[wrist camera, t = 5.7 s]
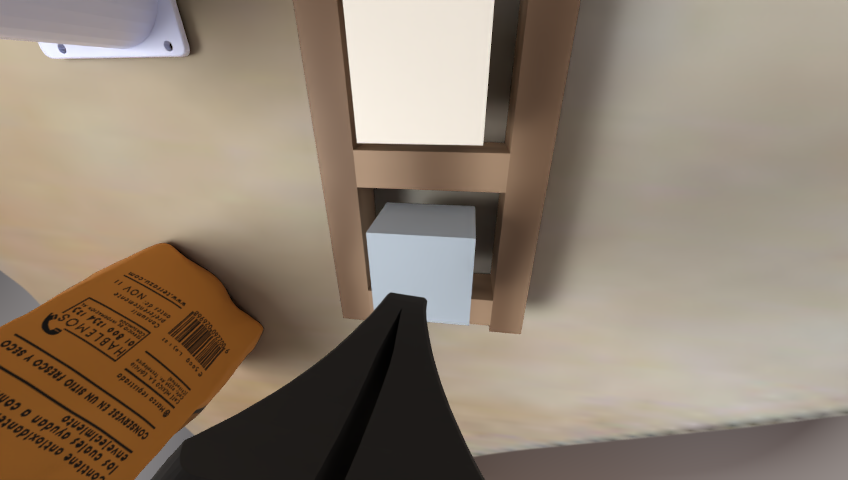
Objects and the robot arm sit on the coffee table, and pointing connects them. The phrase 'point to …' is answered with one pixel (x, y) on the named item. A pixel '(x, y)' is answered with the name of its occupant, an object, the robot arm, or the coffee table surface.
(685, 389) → the coffee table surface
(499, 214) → the block rack
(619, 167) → the coffee table surface
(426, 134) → the cream block
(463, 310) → the slate block
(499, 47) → the coffee table surface
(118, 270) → the coffee package
